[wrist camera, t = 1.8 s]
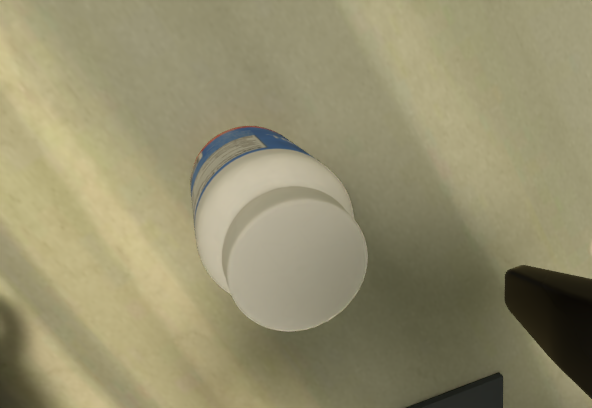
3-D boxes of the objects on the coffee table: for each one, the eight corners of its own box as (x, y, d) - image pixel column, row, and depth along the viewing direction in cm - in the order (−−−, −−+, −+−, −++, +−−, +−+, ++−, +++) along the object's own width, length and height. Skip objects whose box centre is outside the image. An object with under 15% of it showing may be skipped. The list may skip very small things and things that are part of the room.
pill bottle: (321, 189, 22) (424, 281, 13) (235, 252, 21) (278, 390, 13) (260, 98, 19) (333, 133, 10) (164, 167, 19) (154, 263, 10)
